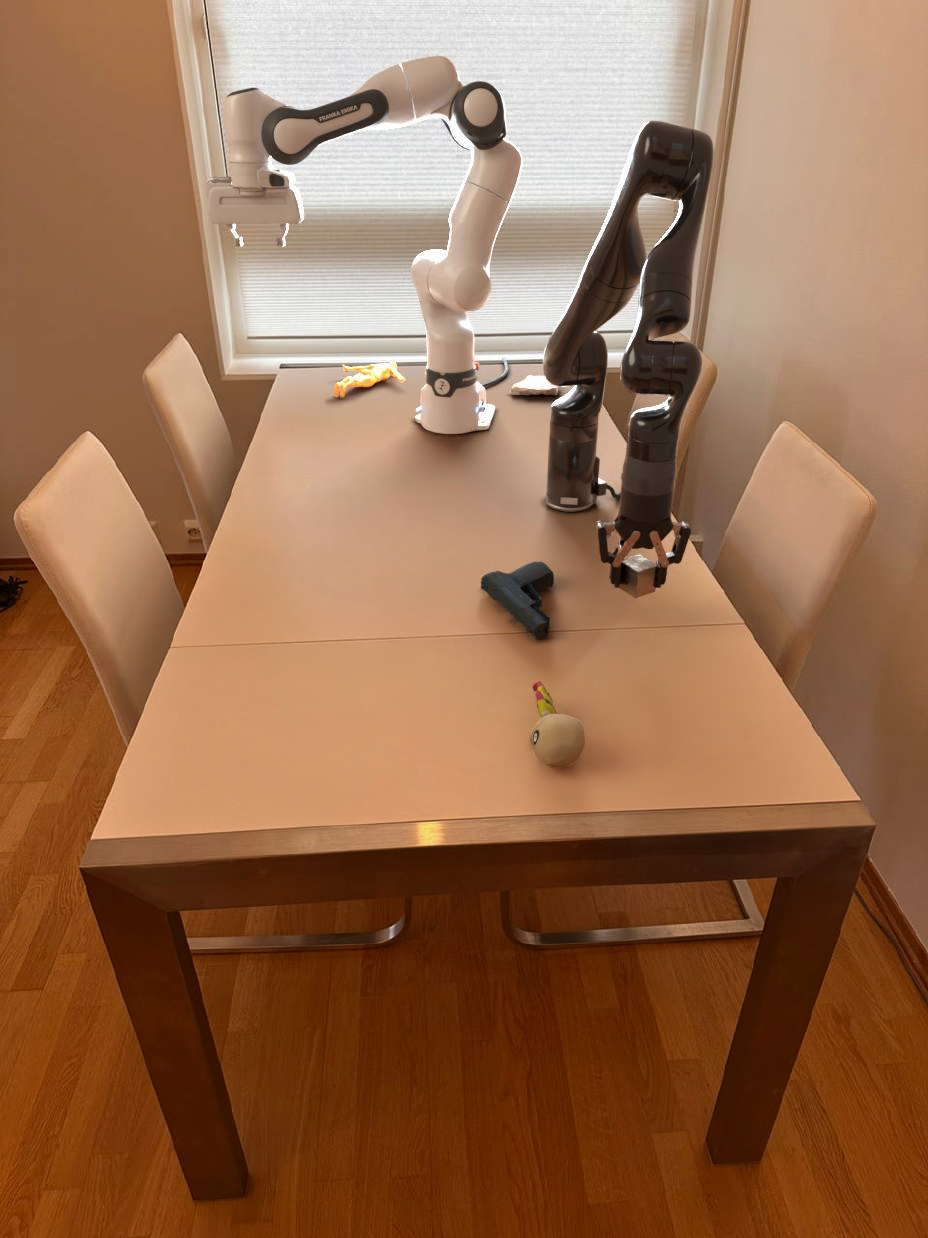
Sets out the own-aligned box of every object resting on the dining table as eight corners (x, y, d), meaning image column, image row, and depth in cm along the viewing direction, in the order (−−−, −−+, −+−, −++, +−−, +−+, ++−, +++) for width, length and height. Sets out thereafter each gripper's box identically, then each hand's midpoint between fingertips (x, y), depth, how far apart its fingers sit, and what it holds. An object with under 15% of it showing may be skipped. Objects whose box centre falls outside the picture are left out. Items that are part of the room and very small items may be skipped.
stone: (553, 399, 232) (554, 389, 231) (509, 395, 235) (509, 385, 234) (564, 385, 243) (564, 375, 241) (521, 381, 246) (522, 372, 244)
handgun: (595, 623, 140) (530, 643, 135) (537, 573, 153) (475, 590, 148) (597, 606, 138) (530, 625, 134) (538, 557, 151) (476, 573, 147)
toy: (510, 684, 120) (525, 756, 108) (557, 660, 119) (578, 730, 106) (530, 713, 123) (547, 787, 110) (577, 690, 122) (599, 762, 109)
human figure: (402, 372, 253) (401, 358, 251) (409, 392, 236) (408, 377, 234) (333, 377, 251) (331, 363, 249) (335, 398, 234) (333, 382, 232)
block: (635, 598, 134) (638, 572, 132) (616, 587, 137) (619, 560, 135) (655, 591, 136) (658, 565, 134) (636, 580, 139) (639, 553, 137)
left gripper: (199, 178, 188) (209, 248, 195) (296, 177, 187) (302, 248, 194) (207, 174, 193) (217, 243, 200) (301, 174, 193) (307, 243, 200)
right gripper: (600, 493, 124) (592, 597, 133) (704, 493, 124) (688, 598, 133) (595, 472, 131) (587, 573, 140) (693, 472, 131) (679, 573, 139)
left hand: (260, 245), depth 197 cm, fingers open, 8 cm apart
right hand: (636, 585), depth 136 cm, fingers closed on block, 5 cm apart
